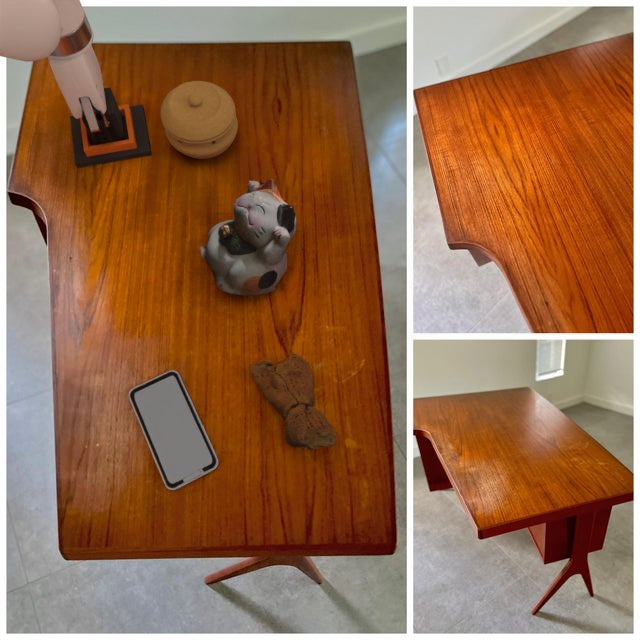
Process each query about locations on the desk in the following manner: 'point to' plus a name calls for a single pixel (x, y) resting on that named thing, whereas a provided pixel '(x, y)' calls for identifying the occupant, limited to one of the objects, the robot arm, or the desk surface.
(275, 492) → the desk surface
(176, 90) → the pot
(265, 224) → the lucky cat figurine
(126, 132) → the base pad
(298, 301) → the desk surface
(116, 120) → the dark grey cube
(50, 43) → the robot arm
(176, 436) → the smartphone
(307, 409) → the sculpture
